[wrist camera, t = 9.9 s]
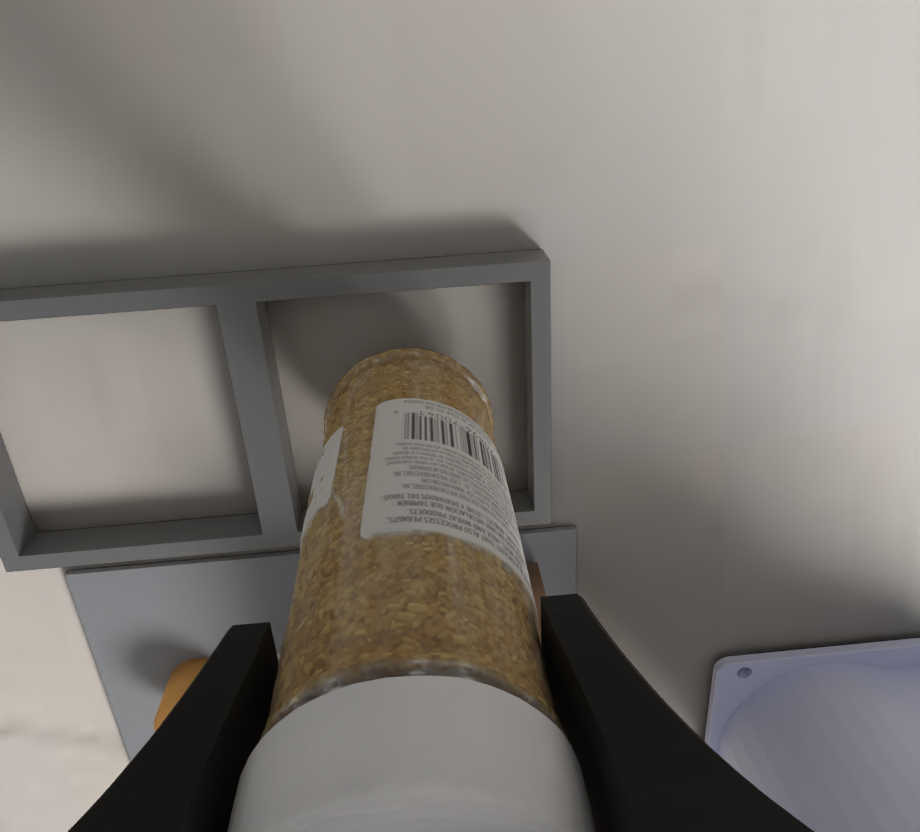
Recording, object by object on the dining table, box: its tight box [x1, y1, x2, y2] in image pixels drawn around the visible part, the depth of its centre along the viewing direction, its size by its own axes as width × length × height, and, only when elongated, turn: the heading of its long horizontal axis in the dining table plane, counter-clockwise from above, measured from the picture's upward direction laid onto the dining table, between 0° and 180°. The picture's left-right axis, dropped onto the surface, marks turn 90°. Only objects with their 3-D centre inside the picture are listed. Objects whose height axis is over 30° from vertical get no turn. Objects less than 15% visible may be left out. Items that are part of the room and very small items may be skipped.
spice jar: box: [227, 348, 596, 832], centre depth 15 cm, size 5×5×14 cm
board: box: [65, 526, 577, 761], centre depth 25 cm, size 16×10×2 cm, turn 93°
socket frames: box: [0, 249, 551, 572], centre depth 21 cm, size 16×8×1 cm, turn 93°
